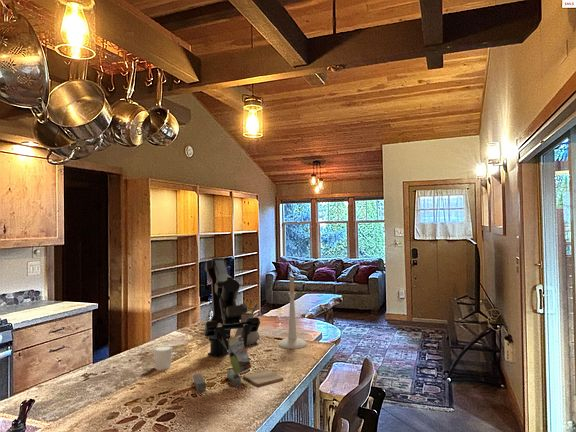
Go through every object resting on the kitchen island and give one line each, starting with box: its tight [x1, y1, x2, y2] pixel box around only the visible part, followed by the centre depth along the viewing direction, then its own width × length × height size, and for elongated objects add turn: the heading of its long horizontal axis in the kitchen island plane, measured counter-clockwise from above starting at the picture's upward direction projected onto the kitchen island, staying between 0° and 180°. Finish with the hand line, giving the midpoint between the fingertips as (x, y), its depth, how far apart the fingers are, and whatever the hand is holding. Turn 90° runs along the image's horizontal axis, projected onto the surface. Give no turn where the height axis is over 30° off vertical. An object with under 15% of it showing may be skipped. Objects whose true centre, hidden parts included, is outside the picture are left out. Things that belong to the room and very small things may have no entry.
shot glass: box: [153, 345, 173, 371], centre depth 148 cm, size 7×7×7 cm
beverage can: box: [227, 335, 252, 375], centre depth 133 cm, size 6×7×12 cm
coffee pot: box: [233, 303, 261, 346], centre depth 185 cm, size 21×12×15 cm, turn 167°
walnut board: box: [242, 369, 284, 387], centre depth 135 cm, size 10×10×1 cm
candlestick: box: [277, 277, 308, 350], centre depth 177 cm, size 13×13×30 cm
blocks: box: [193, 368, 242, 393], centre depth 131 cm, size 9×14×2 cm, turn 112°
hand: (236, 348), depth 132 cm, fingers closed on beverage can, 6 cm apart
